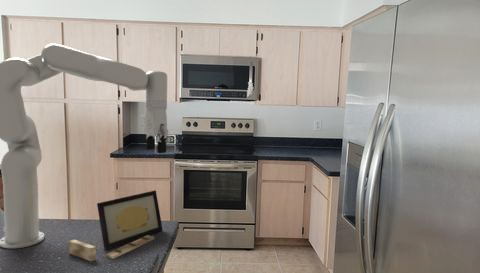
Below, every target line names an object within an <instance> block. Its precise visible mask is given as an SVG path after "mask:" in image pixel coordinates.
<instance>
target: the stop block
mask: <svg viewBox="0 0 480 273" xmlns="http://www.w3.org/2000/svg"><path fill="white" fill-rule="evenodd" d="M69 254H70V255H72V256H76V257H77V258H80V259H83V260H87V261H89V262H93V261H96V260H97V247H96V246H95V245H91V244H89V243H86V242H83V241H80V240H77V239H71V240H69Z"/></svg>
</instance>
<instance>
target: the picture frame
mask: <svg viewBox="0 0 480 273" xmlns="http://www.w3.org/2000/svg"><path fill="white" fill-rule="evenodd" d="M96 205H97V212H98V220H99V225H100V226H99V227H100V232H101V238H102V244H103V249H104V250H105V251H106V250H109V249H113V248H116V247H118V246H120V245H123V244H124V245H125V244H126V243H127V244H128V243H131V242H133V241H136V240H138V239H140V238H141V237H145V236H147V235H149V236H151V235H153V234H155V233H158V232H161V231H163V224H162V218H161V213H160V206H159V201H158V196H157V191H156V190H151V191H146V192H142V193H137V194H134V195H133V194H132V195H127V196H124V197H120V198H115V199H111V200H106V201H101V202H98V203H96Z"/></svg>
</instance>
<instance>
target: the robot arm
mask: <svg viewBox="0 0 480 273" xmlns="http://www.w3.org/2000/svg"><path fill="white" fill-rule="evenodd" d="M61 73H64V74H68V75H72V76H74V77H75V76H76V77H77V78H78V77H79V78H82V79H86V80H90V81H94V82H104V83H109V84H113V85H116V86H121V87H125V88H127V89H128V90H131V91H134V92H135V91H145V109H146V110H145V115H144V116H145V117H144V134H145V135H146V136H145V139H146V142H145V143H146V145H145V146H146V147H145V149H146V150H147V151H149V150H155V147H156V146H157V149H156V151H157V154H165V153H167V141H168V138H169V137H168V135H169V130H168V121H167V119H168V117H167V110H168V74H167V73H166V72H165V71H158V70H150V71H148V72H147V71H145V70H144V69H142V68H139V67H137V66H133V65H129V64H128V63H123V62H120V61H117V60H112V59H110V58H106V57H104V56H99V55H95V54H91V53H88V52H85V51H82V50H77V49H75V48H72V47H68V46H67V45H66V46H65V45H62V44H57V43H50V44H47V45H45V46H44V47H43V48H42V50H41V53H40V54H37V55H35V56H32V57H30V58H27V59H25V58H20V57H12V58H7V59H5V60H2V61H1V62H0V140H1V141H3V142H4V143H6V144H7V148H8V151H6V153H5V154H4V155H3V157H2V159H1V162H0V172H1V177H2V178H1V179H2V188H3V189H2V190H3V209H4V212H3V215H4V227H3V228H2V231H3V232H4V236H3V237H1V238H0V248H4V249H21V248H27V247H31V246H35V245H36V244H39V243H41V242H42V241H44V239H45V233H44V232H42V231H40V229H39V228H40V223H39V222H40V221H39V220H40V218H39V217H40V216H39V184H38V172H37V171H38V166H40V163H41V161H42V158H43V156H42V150H41V145H40V141H39V135H38V130H37V127H36V123H35V122H34V120H33V119H32V118H31V117H30V116H29V115H27V112H26V109H25V102H24V99H23V98H24V97H23V94H22V87H31V86H34V85H37V84H39V83H41V82H44V81H46V80H48V79H51V78H53V77H54V76H57V75H59V74H61ZM155 137H156V138H157V140H158V141H157V145H156V139H155ZM155 145H156V146H155Z"/></svg>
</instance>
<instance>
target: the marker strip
mask: <svg viewBox="0 0 480 273" xmlns="http://www.w3.org/2000/svg"><path fill="white" fill-rule="evenodd" d="M153 240H155V236H153V235H147V236H144V237H141V238H138V239H135V240H133V241H131V242H127V244H124V246H121V247H119V248H117V249H116V248H114V249H113V250H112V251H109V252H108V253H106V254H105V255H106V256H105V257H106V258H109V259H113V260H114V259H116V258H118V257H120V256H122V255H124V254H126V253H128V252H131V251H133V250H134V249H137V248H138V247H141V246H143V245H145V244H147V243H149V242H151V241H153Z"/></svg>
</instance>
